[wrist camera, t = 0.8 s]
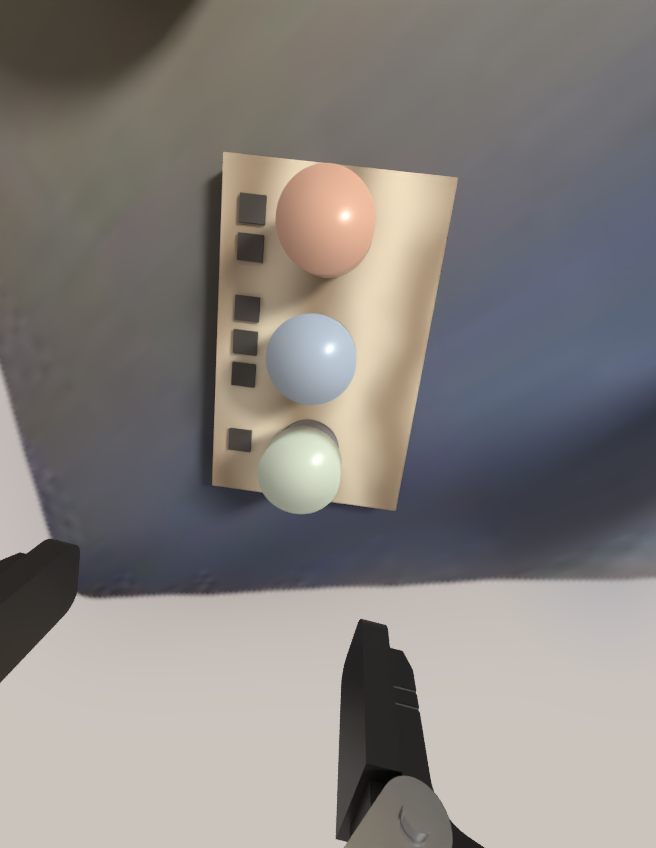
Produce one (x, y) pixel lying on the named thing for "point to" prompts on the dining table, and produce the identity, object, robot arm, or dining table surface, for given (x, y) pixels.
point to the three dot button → (311, 358)
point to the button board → (337, 297)
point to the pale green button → (300, 470)
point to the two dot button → (326, 220)
